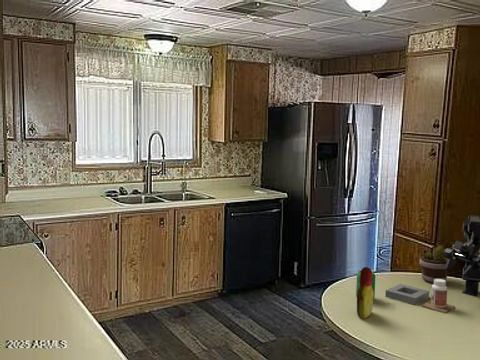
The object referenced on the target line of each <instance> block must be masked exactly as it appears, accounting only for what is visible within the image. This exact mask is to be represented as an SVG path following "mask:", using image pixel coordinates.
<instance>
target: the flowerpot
mask: <svg viewBox="0 0 480 360" xmlns="http://www.w3.org/2000/svg"><path fill="white" fill-rule="evenodd" d="M432 250H433V252H431V250H428V251H427V250H426V252H425V253H424V255H422V256H421V258H420V259H419V262H418V264H419V265H420V267H421V274H420V275H421V279H423V281H424V282H426V283H430V284H434V279H443V280H445V281H446V282H447V278H448V276H447V274H448V271H449V270H448V271H445V268H446V264H447V257H445V256H446V255H445V253H444V251H445V248H444V247H443V245H442V244H440V245H438V246H436V247H435V248H434V249H432Z"/></svg>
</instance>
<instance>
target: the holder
mask: <svg viewBox="0 0 480 360" xmlns="http://www.w3.org/2000/svg"><path fill="white" fill-rule="evenodd" d="M385 298H388V299H392V300H396V301H399V302H403V303H407V304H410V305H414V306H416V305H418V304H419V303H421V302H424V301H425V300H427V299H429V298H430V290H427V289H423V288H418V287H414V286H410V285H406V284H402V283H399V284H397V285H395V286H393V287H390V288H388V289H385Z"/></svg>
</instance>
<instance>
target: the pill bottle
mask: <svg viewBox="0 0 480 360" xmlns="http://www.w3.org/2000/svg"><path fill="white" fill-rule="evenodd" d="M446 284H447V280H446V281H445V280H443V279H434V283H432V285H431V298H430V301H431V305H432V306H434V307H439V308H444V307H446V305H447V304H448V303H447V302H448V301H447V298H448V286H447V285H446Z"/></svg>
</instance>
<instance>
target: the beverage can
mask: <svg viewBox="0 0 480 360" xmlns="http://www.w3.org/2000/svg"><path fill="white" fill-rule="evenodd" d="M360 275H361V270H358V272H357V274H356V285H355V287H356V288H355V290H356V291H355V297H356V298H357V292H358V289H359V287H360ZM371 282H372V283H371V286H372V289H373V292H374V295H373V300H374V299H375V294H376V293H375V292H376V291H375V290H376V274H375V272H374V271H372V281H371Z"/></svg>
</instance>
